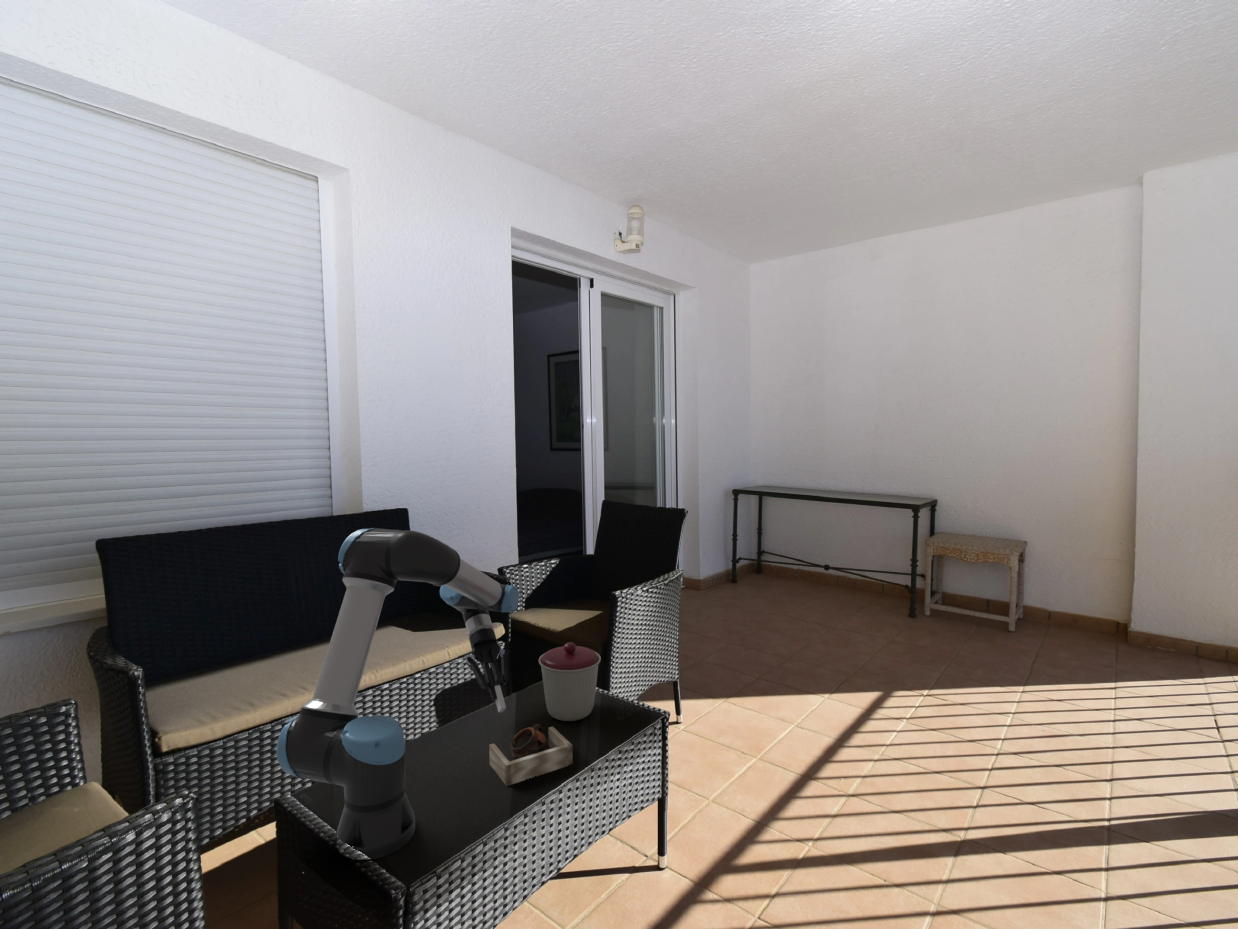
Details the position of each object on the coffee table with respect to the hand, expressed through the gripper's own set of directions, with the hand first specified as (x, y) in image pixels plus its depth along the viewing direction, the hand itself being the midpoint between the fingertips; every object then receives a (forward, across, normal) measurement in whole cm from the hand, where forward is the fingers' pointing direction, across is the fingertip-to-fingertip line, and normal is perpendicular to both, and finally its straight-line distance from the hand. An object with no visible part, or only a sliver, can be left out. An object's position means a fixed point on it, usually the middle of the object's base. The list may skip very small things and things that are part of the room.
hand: (502, 709), depth 171 cm
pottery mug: (+16, -2, +7) cm, 17 cm away
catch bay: (+18, 0, +10) cm, 21 cm away
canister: (+5, -21, -4) cm, 22 cm away
